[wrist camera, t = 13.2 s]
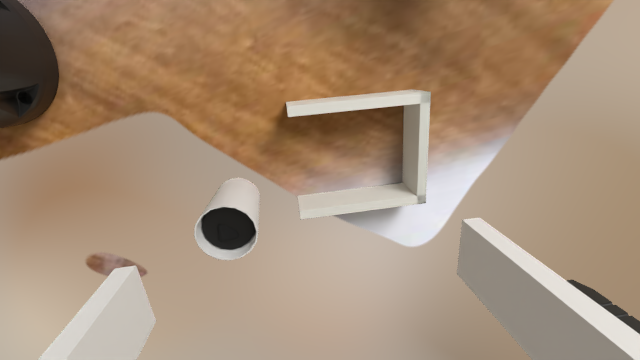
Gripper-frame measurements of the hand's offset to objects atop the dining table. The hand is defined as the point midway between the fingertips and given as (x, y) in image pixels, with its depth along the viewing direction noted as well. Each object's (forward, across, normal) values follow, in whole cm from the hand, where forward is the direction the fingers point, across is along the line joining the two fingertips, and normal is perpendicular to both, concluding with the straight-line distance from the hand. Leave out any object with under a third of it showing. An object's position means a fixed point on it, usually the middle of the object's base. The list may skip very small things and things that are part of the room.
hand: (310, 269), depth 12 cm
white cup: (+29, -8, -8) cm, 31 cm away
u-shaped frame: (+29, +8, -3) cm, 30 cm away
